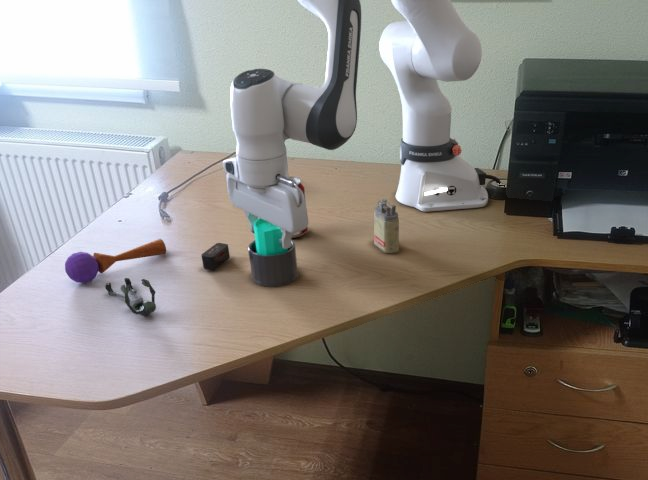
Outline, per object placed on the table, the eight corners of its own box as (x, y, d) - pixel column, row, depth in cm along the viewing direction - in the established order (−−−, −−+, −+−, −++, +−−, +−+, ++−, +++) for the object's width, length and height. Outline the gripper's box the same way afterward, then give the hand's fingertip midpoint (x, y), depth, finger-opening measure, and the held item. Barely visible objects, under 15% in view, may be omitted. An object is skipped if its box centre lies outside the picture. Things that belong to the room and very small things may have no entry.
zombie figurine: (125, 255, 125) (159, 285, 115) (132, 287, 129) (166, 319, 119) (96, 263, 122) (129, 295, 113) (104, 296, 126) (137, 329, 116)
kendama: (169, 240, 137) (71, 265, 124) (169, 265, 140) (75, 292, 128) (154, 227, 140) (57, 250, 127) (155, 252, 143) (61, 276, 131)
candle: (253, 273, 131) (245, 216, 125) (276, 263, 135) (270, 207, 128) (272, 283, 128) (266, 224, 121) (296, 272, 132) (291, 215, 125)
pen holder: (300, 265, 135) (297, 235, 132) (294, 286, 128) (291, 256, 124) (256, 265, 136) (252, 236, 132) (248, 286, 128) (244, 256, 125)
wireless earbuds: (233, 257, 139) (231, 242, 137) (214, 272, 134) (211, 257, 132) (214, 253, 140) (211, 239, 139) (194, 268, 135) (192, 254, 133)
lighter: (371, 242, 144) (370, 198, 138) (386, 238, 145) (386, 194, 140) (387, 255, 139) (387, 209, 133) (403, 251, 140) (403, 206, 134)
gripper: (313, 178, 115) (318, 251, 123) (245, 152, 128) (253, 220, 135) (284, 187, 112) (291, 262, 119) (217, 160, 124) (227, 229, 132)
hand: (271, 239), depth 127 cm, fingers open, 8 cm apart
